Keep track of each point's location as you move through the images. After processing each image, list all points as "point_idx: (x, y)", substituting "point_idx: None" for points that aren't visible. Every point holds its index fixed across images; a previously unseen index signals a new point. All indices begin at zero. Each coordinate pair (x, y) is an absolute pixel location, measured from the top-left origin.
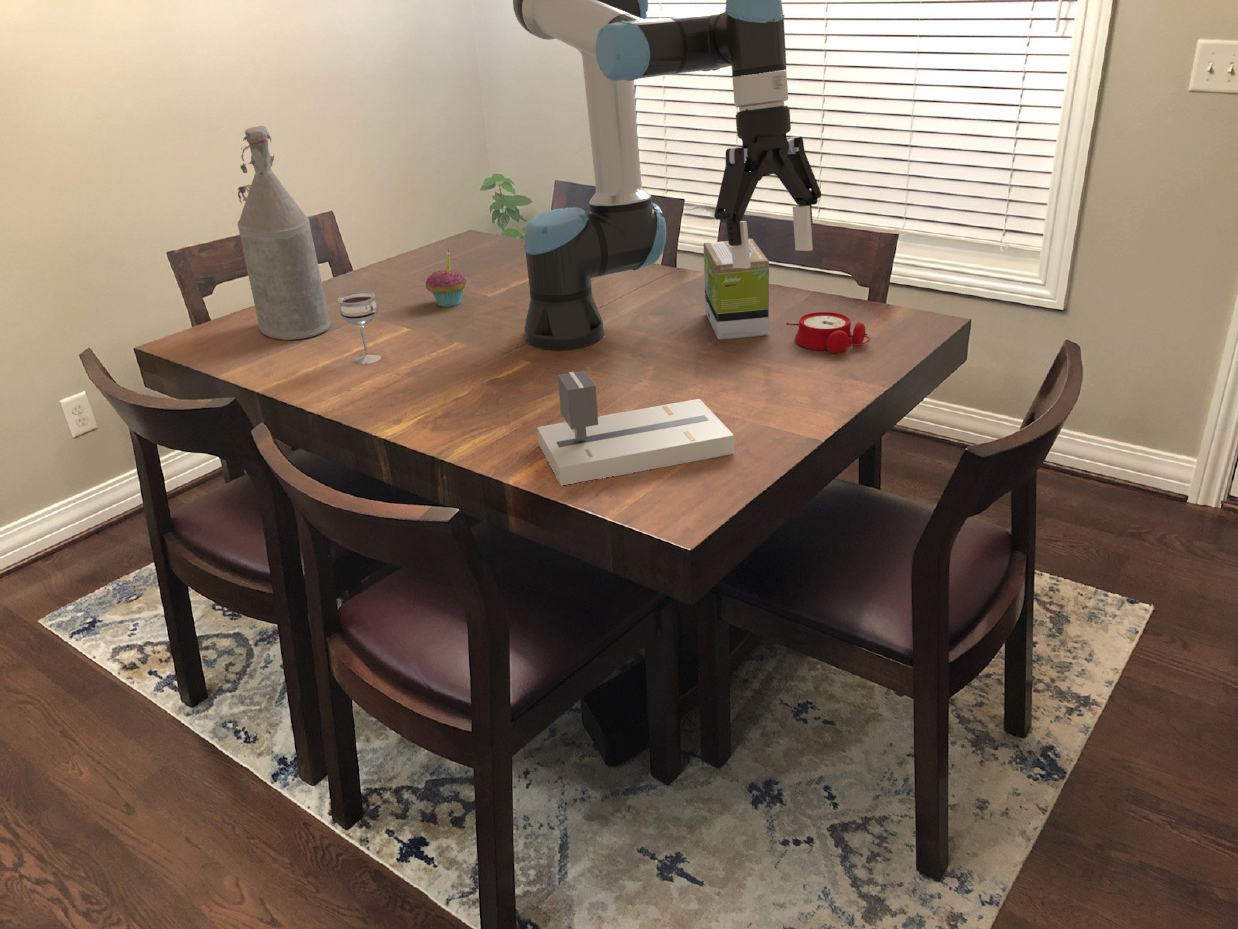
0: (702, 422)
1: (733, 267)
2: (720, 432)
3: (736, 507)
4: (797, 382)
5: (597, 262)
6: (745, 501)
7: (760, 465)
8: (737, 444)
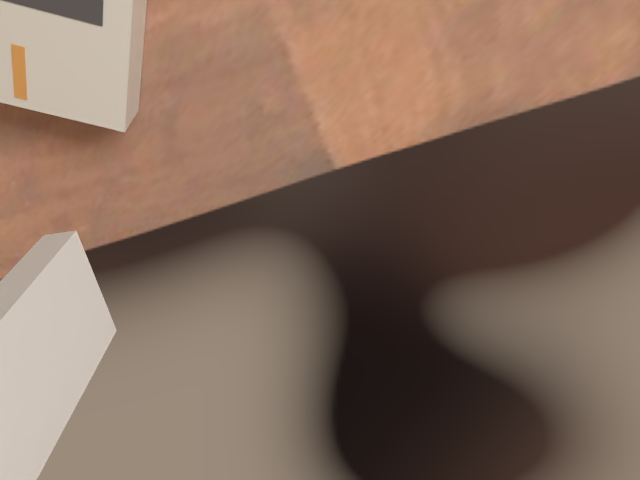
0: (80, 27)
1: (43, 238)
2: (100, 103)
3: None
4: None
5: None
6: None
7: (164, 179)
8: (168, 79)
